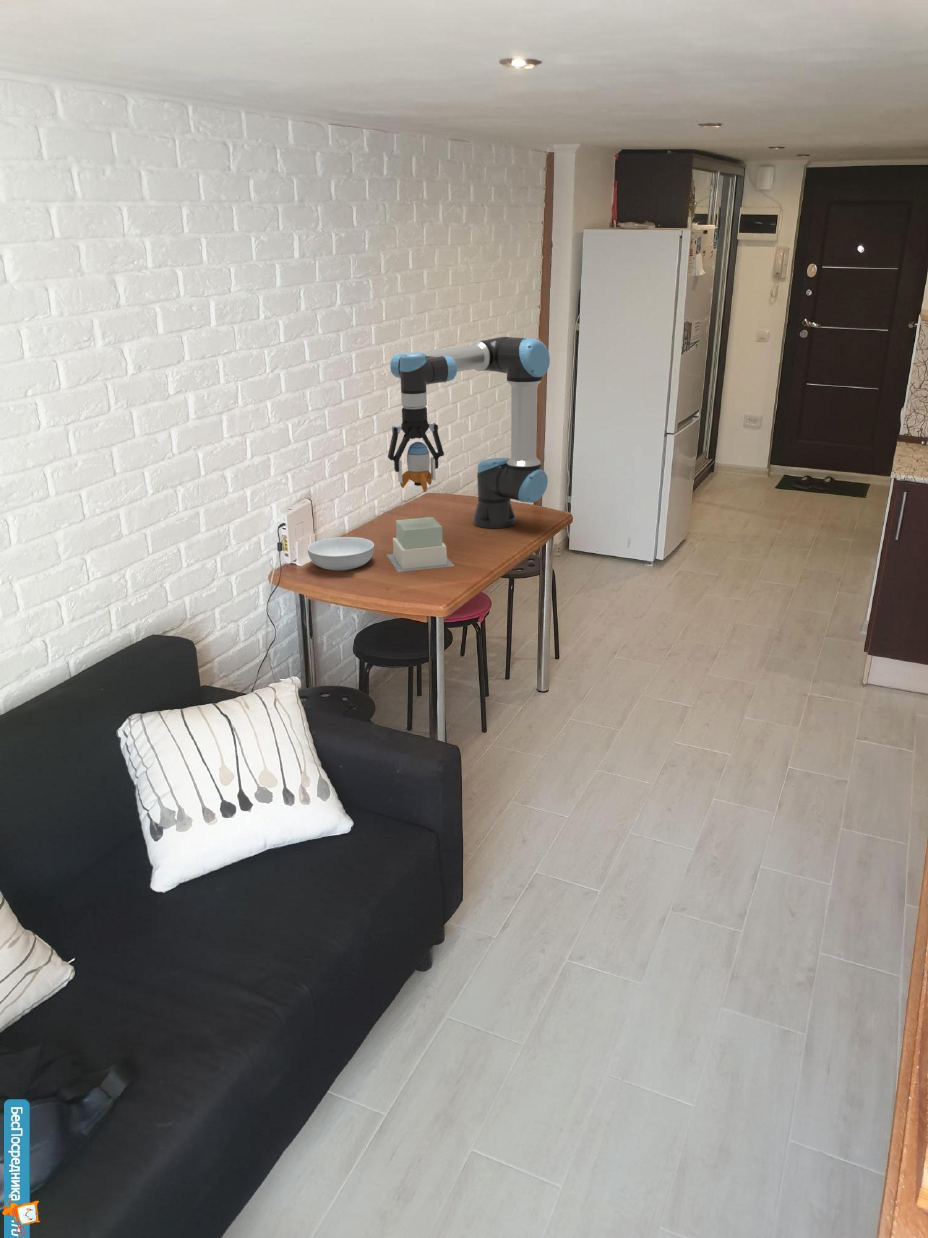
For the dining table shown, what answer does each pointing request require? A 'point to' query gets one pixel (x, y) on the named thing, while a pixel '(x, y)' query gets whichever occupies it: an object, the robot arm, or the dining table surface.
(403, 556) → the lower brick
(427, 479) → the toy rocket
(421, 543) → the upper brick
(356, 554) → the serving bowl
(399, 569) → the base plate
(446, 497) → the dining table surface
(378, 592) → the dining table surface
